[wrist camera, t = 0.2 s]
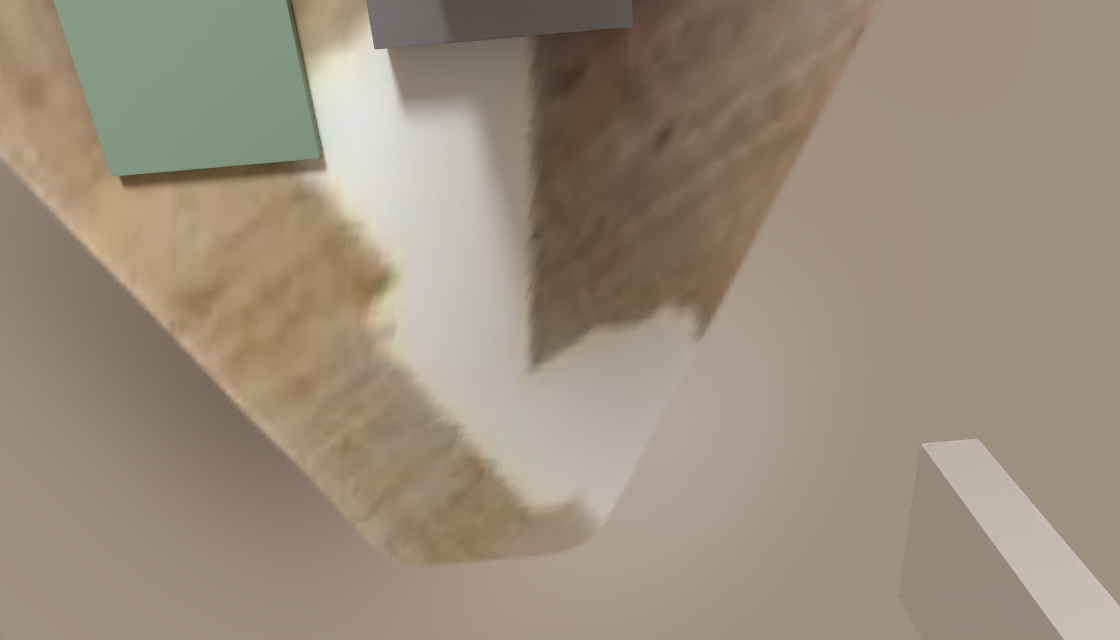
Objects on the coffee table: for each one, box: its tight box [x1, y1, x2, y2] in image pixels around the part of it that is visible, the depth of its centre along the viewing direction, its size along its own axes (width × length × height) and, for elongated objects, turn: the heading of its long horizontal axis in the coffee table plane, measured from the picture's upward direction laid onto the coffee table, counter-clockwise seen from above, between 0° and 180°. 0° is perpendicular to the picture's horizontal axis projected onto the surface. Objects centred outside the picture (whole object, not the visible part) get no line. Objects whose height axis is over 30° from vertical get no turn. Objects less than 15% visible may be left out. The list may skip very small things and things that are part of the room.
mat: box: [53, 0, 323, 177], centre depth 34 cm, size 9×9×1 cm
